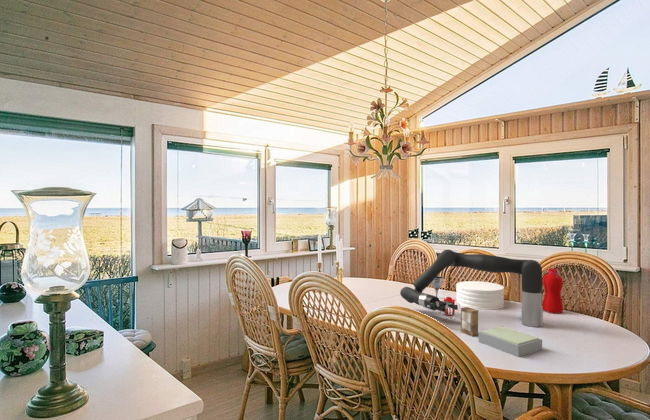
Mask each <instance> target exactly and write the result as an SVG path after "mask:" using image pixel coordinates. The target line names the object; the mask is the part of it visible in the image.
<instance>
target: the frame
mask: <svg viewBox="0 0 650 420" xmlns="http://www.w3.org/2000/svg"><path fill="white" fill-rule="evenodd" d="M460 333H462V334H464V335H467V336H470V337H478V336H479V309H474V308H469V307H464V306H462V307H460Z"/></svg>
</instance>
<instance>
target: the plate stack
mask: <svg viewBox="0 0 650 420" xmlns="http://www.w3.org/2000/svg"><path fill="white" fill-rule="evenodd" d="M504 290H505V287H504V286H503V285H502V284H499V283H494V282H488V281H478V280H476V281H475V280H466V281H464V280H463V281H459V282H457V283H455V291H456V292H455V299H456V300H455V303H456V302H457V303H459V304H460V306H461V307H469V308H472V309H475V310H498V309H499V308H500V309H502V308H504V307H505V303H504V302H505V300H504V299H505V295H504V294H505V291H504ZM457 303H456V304H457ZM459 304H458V305H459Z"/></svg>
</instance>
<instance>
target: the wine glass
mask: <svg viewBox="0 0 650 420" xmlns="http://www.w3.org/2000/svg"><path fill="white" fill-rule="evenodd" d="M443 283H444V277H443V276H441V275H437V276H436V277H435V279H434V280H433V281H432V282H431V283H430V284H431V286H432V288H433V289H434V291H435V296H436V297H438V294H439V293H438V292H439V290H440V289H441V288H442V286H443Z"/></svg>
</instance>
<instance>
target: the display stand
mask: <svg viewBox="0 0 650 420" xmlns="http://www.w3.org/2000/svg"><path fill="white" fill-rule="evenodd" d="M478 343H481V344H483V345H486V346H489V347H491V348H495V349H497V350H500V351H501V352H505V353H507V354H510V355H512V356H515V357H522V356H526V355H529V354H532V353H536V352H540V351H542V350H543V339H542V338H539V337H537V336H534V335H530V334H527V333H525V332H522V331H521V332H520V331H518V330H515V329H513V328H512V329H511V328H509V327H505V326H497V327H494V328H489V329H485V330H482V331H481V330H480V331H478Z"/></svg>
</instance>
